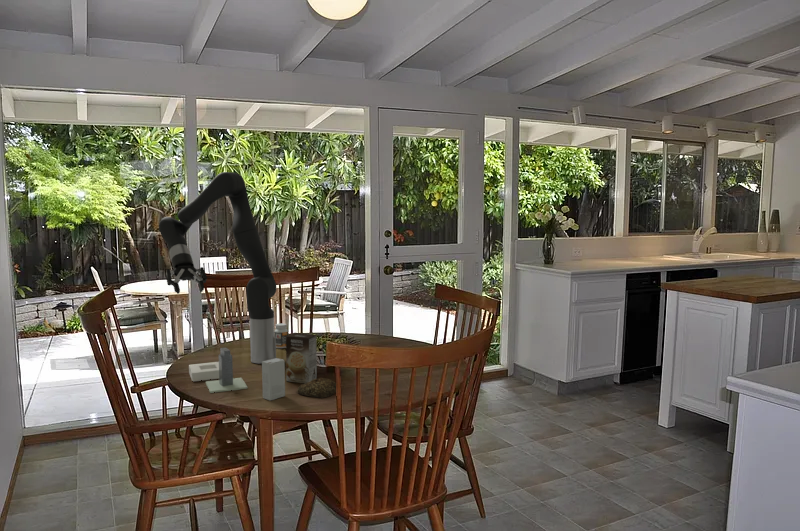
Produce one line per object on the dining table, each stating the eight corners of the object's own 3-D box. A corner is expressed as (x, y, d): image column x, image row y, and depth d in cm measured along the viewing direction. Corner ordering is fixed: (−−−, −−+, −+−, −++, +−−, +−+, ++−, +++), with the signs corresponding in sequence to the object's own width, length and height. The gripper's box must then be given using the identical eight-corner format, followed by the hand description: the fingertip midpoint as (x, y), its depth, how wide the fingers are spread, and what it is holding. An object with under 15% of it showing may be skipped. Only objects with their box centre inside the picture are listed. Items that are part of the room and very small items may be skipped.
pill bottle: (285, 349, 258) (284, 325, 257) (272, 348, 260) (272, 325, 259) (290, 345, 264) (289, 323, 263) (277, 345, 265) (277, 322, 264)
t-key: (229, 381, 209) (228, 347, 208) (233, 385, 205) (232, 350, 204) (218, 383, 207) (217, 348, 206) (222, 386, 203) (221, 351, 202)
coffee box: (285, 381, 211) (284, 336, 209) (294, 376, 217) (293, 332, 215) (309, 384, 208) (308, 337, 206) (317, 379, 214) (317, 334, 212)
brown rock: (321, 401, 191) (321, 385, 191) (291, 394, 198) (291, 379, 197) (346, 390, 202) (346, 375, 201) (317, 384, 208) (317, 370, 208)
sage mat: (241, 379, 214) (241, 377, 214) (247, 388, 203) (247, 386, 203) (205, 383, 209) (205, 381, 209) (210, 393, 198) (209, 391, 198)
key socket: (223, 369, 227) (222, 361, 226) (227, 377, 216) (227, 369, 216) (189, 372, 222) (188, 364, 222) (192, 381, 211) (192, 373, 211)
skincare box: (277, 393, 197) (276, 357, 196) (286, 396, 194) (285, 359, 193) (261, 398, 193) (260, 360, 191) (270, 401, 190) (269, 363, 189)
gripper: (163, 253, 230) (172, 286, 221) (201, 251, 238) (211, 283, 229) (160, 265, 235) (169, 299, 226) (198, 263, 243) (207, 296, 234)
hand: (190, 291), depth 228 cm, fingers open, 8 cm apart
